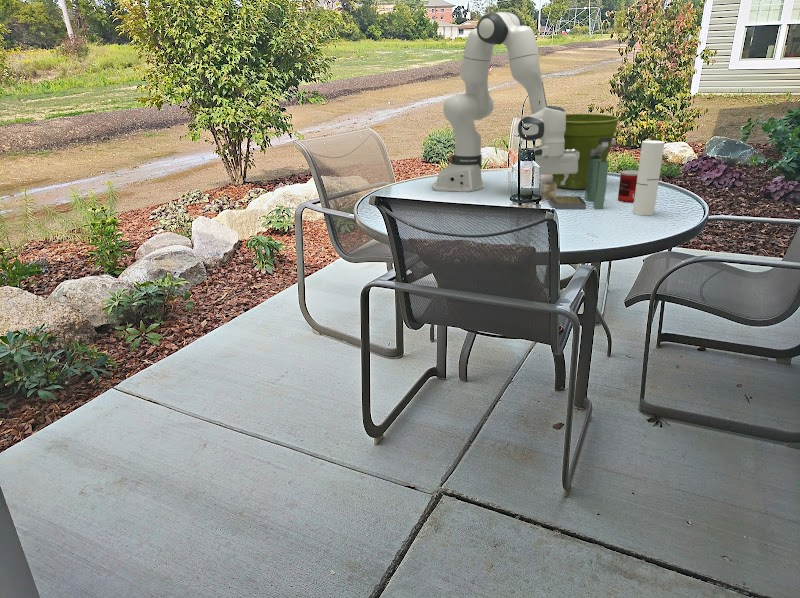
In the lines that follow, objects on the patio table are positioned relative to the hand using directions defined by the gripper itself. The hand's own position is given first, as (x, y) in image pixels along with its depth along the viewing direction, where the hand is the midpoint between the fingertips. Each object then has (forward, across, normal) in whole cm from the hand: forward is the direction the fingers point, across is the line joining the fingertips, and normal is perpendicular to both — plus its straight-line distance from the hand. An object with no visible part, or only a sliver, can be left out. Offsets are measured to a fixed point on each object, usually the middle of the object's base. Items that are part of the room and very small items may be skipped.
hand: (550, 185), depth 233 cm
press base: (+5, -8, +9) cm, 13 cm away
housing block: (+5, 0, 0) cm, 5 cm away
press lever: (-14, -16, +9) cm, 23 cm away
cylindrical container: (+6, -30, +23) cm, 38 cm away
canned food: (+6, -30, +3) cm, 30 cm away
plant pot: (+5, -14, -25) cm, 29 cm away
